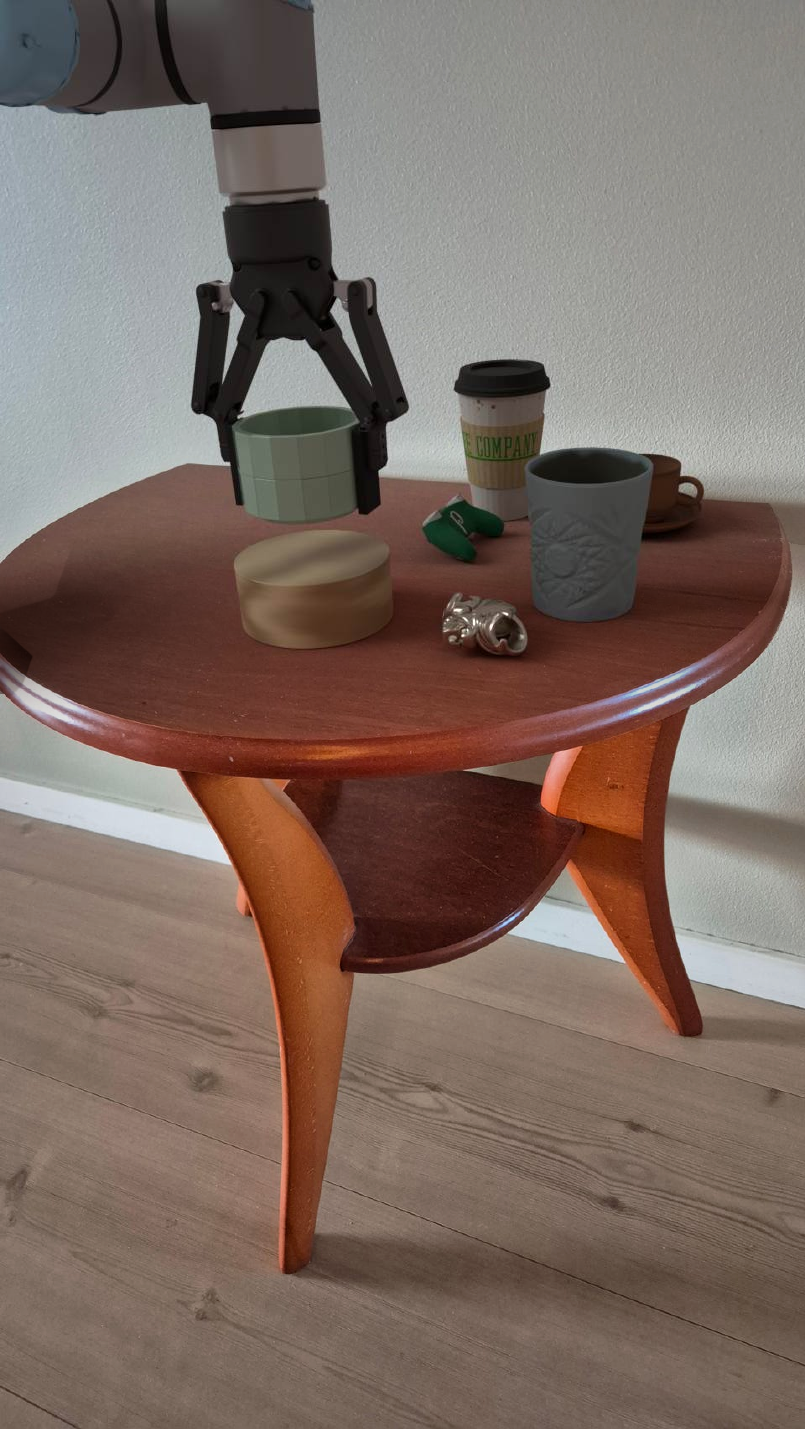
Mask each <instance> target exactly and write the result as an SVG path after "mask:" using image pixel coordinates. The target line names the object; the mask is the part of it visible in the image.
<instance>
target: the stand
mask: <svg viewBox="0 0 805 1429" xmlns="http://www.w3.org/2000/svg"><path fill="white" fill-rule="evenodd" d="M233 569H234V576H235V582H236V589H237V597H238V602H239V609H240V616H241V623H242V628H243V630H244V632H245V633H246V635H248V636H249V637H250V638H252V639H253V640H255V641H257V642H259V643H262V644H265V645H267V646H268V645H269V646H273V647H277V648H283V649H293V650H294V649H297V650H298V649H299V650H310V649H312V650H313V649H324V648H331V647H337V646H342V645H346V644H347V645H348V644H351V643H354V642H357V641H360V640H363V639H366V638H368V637H370V636H372V635H374V634H376V633H378V632H380V631H381V630H382V629H383V628H385V627H386V626H387V625H388V624H389V623H390V621H391V620H392V618H393V616H394V602H393V587H392V586H393V585H392V570H391V554H390V548H389V546H388V545H387V544H386V543H385V541H383V540H382V539H380V538H378V537H376V536H373V535H370V534H367V533H364V532H358V531H351V530H343V529H342V530H341V529H315V530H303V531H295V532H290V533H289V532H288V533H286V534H280V535H277V536H273V537H269V538H266V539H263V540H261V541H258V542H255V543H253V544H251V545H248V547H245V548H244V549H243V550H242V551H241V552H239V553H238V554H237V555H236V557H235V559H234V561H233Z"/></svg>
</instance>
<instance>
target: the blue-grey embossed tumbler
mask: <svg viewBox="0 0 805 1429" xmlns="http://www.w3.org/2000/svg"><path fill="white" fill-rule="evenodd" d="M640 454H641V453H637V452H634V451H630V450H625V449H620V448H612V447H595V446H594V447H585V446H584V447H570V448H569V447H568V448H562V449H556V450H555V449H554V450H551V451H547V452H543V453H540V455H538V456H537V457H535V458H534V459H532V460H530V461H529V462H528V463H527V464H526V466H525V476H526V489H527V498H528V504H529V515H528V521H529V525H530V527H531V528H530V536H529V537H530V538H529V540H530V541H529V544H530V560H531V569H530V576H531V577H530V579H531V595H532V602H533V605H534V607H535V608H536V610H538V611H539V612H541V613H542V614H544V615H546V616H548V617H551V618H554V619H558V620H562V621H568V622H577V623H578V622H579V623H592V622H601V621H608V620H612V619H615V618H619V617H620V616H623V615H625V614H627V612H629V611H630V610H632V608H633V604H634V601H635V594H636V588H637V581H638V573H639V566H638V563H639V561H638V560H639V555H640V552H641V549H642V537H643V533H642V528H643V525H644V522H645V518H646V512H647V507H648V499H649V492H650V486H651V480H652V474H653V463H652V462H651V460H650V459H648V458H647V457H645V456H643V455H640Z"/></svg>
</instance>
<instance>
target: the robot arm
mask: <svg viewBox="0 0 805 1429" xmlns="http://www.w3.org/2000/svg"><path fill="white" fill-rule="evenodd" d="M314 14H315V5H314V3H313V2H312V0H0V106H3V107H9V108H25V107H32V106H36V107H37V106H39V107H40V106H41V107H45V108H46V109H47V110H49V111H51V112H53V113H57V114H61V115H65V114H66V115H67V114H77V115H83V116H84V115H85V116H87V115H94V116H102V115H105V114H107V113H109V112H110V113H111V112H121V111H122V112H123V111H135V110H143V109H144V110H145V109H153V108H163V107H172V106H181V105H187V106H195V105H201V104H206V105H207V108H208V112H209V123H210V130H211V137H212V145H213V146H212V147H213V152H214V161H215V169H216V170H215V171H216V176H217V177H216V178H217V185H218V186H217V187H218V193H219V194H220V195H221V196H222V197H225V198H226V197H228V201H229V205H225V206H224V210H223V211H222V212H221V213H222V221H223V229H224V237H225V244H226V253H227V257H228V259H229V260H230V261H229V262H230V263H231V267H232V274H231V279H230V280H229V281H225V282H224V281H222V280H221V279H216V280H212V281H207V282H203V283H200V284H197V286H196V288H195V295H196V302H197V306H198V313H199V325H198V334H197V344H196V352H195V353H196V354H195V363H194V374H193V382H192V391H191V392H192V393H191V400H190V408H191V411H192V412H193V413H194V414H195V415H197V416H200V415H204V416H206V417H208V418H210V419H212V421H214V423H215V425H216V431H217V432H216V433H217V439H218V445H219V452H220V457H221V458H222V461H223V463H229V466H230V473H231V474H230V475H231V480H232V487H233V492H234V493H233V494H234V501H235V506H241V507H244V506H243V502H242V495H241V488H240V481H239V474H238V466H237V460H236V453H235V446H234V439H233V432H232V425H234V424H235V423H236V422H237V421H238V420H240V419H242V418H245V417H246V416H245V417H239V416H240V415H243V414H244V412H245V410H242V408H243V406H244V403H245V401H246V398H247V395H248V393H249V392H250V388H251V385H252V383H253V381H254V378H255V375H256V373H257V370H258V367H259V365H260V363H261V360H262V357H263V355H264V353H265V351H266V347H267V346H268V344H269V343H270V342H271V341H276V340H279V339H287V340H290V341H295V342H296V341H304V340H305V342H306V343H307V345H308V347H309V348H310V349H311V350H312V351H314V352H316V354H317V355H318V356H319V358H320V361H321V362H322V363H323V365H324V366H325V368H326V371H328V373H329V375H330V376H331V378H332V380H333V381H334V383H335V385H336V386H337V388H338V389H339V391H340V392H341V394H342V396H343V398H344V399H345V401H346V402H347V404H348V406H349V407H350V409H352V411H353V412H354V414H355V415H356V417H357V419H358V420H359V422H360V424H361V426H359V427H357V428H356V429H354V430H352V440H353V452H354V464H355V476H356V488H357V500H358V509H357V511H358V512H357V513H358V515H361V516H369V514H371V513H372V512H374V511H375V510H376V509H377V508H378V507H380V506H381V505H382V501H381V500H382V499H381V487H380V486H381V485H380V471H381V470H382V469H383V468H385V467H386V466H387V463H388V461H389V453H388V438H387V437H388V436H387V426H388V423H391V422H394V421H396V420H397V419H399V418H400V417H402V416H404V415H405V414H407V413H408V411H409V408H410V404H409V401H408V398H407V395H406V392H405V389H404V387H403V383H402V380H401V378H400V375H399V371H398V368H397V366H396V363H395V360H394V356H393V353H392V351H391V348H390V345H389V342H388V339H387V336H386V333H385V330H384V327H383V324H382V322H381V318H380V315H379V312H378V296H377V295H378V293H377V283H376V281H375V279H374V278H373V277H370V276H365V277H362V278H359V279H356V280H355V279H339V277H338V275H337V274H336V272H335V269H334V266H333V261H332V260H333V259H332V258H333V238H332V229H331V217H330V215H331V214H330V204H328V203H326V202H327V201H326V199H323V198H322V199H321V198H320V191H324V189H325V188H326V187H327V185H328V184H327V172H326V163H325V151H324V150H325V149H324V139H323V129H322V128H323V126H322V118H321V111H320V97H319V96H320V95H319V83H318V67H317V55H316V38H315V21H314ZM337 299H339V300H340V302H341V308H342V309H343V310H344V311H345V312H346V313H347V314H348V319H349V324H350V327H351V330H352V333H353V336H354V339H355V341H356V344H357V347H358V350H359V353H360V355H361V356H360V357H361V359H362V361H363V364H364V367H365V370H366V373H367V375H368V376H367V375H366V373H365V372H364V371H363V368H362V367H361V366H360V364H359V362H358V361H357V359H356V357H355V356H354V354H353V353H352V350H351V349H350V347H349V346H348V344H347V343H346V341H345V339H344V338H343V330H342V329H341V328H342V327H340V325H339V323H338V322H337V320H336V319H335V317H334V315H333V313H332V312H331V311H332V309H333V306H334V305H335V303H336V301H337ZM234 304H236V306H237V307H238V308H239V309H240V311H241V313H242V314H243V316H244V317H243V319H242V321H241V324H240V327H239V330H238V332H237V336H236V339H235V340H236V342H237V344H236V346H235V349H234V351H233V355H232V357H231V360H230V363H229V365H228V368H227V370H226V372H225V376H224V371H225V364H226V355H227V348H228V340H229V332H230V324H231V323H230V322H231V311H232V309H233V306H234ZM368 378H369V379H368Z"/></svg>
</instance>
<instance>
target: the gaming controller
mask: <svg viewBox="0 0 805 1429" xmlns="http://www.w3.org/2000/svg"><path fill="white" fill-rule="evenodd" d="M421 531H422V533H423V534H424V536H425V538H426V541H427V542H428V543H429V544H432V546H434V547H435V548H436V549H438V550H440V551H441V552H443V553H445V554H446V555H448V556H450V557H452V558H455V559H458V560H461V561H464V562H467V563H471V562H472V561H474V560H475V559H476V558H477V556H478V551H477V548H476V547H475V546H474V545H473V543H472V542H471V541H470V540H469V539H468V538H469V537H470V536H471V535H472V534H479V535H484V536H490V537H500V536H502V535H503V533H504V531H505V523H504V521H502V520H501V519H500V518H499V517H498V516H496V515H495V514H492V513H490V512H488V511H486V510H483V509H480V508H477V507H474V506H473V504H470V503H469V502H468V501H467V500H466V499H465V498H463V496H462V493H461V492H459V493H458V494H457V495H455V496H454V497H452V498H451V499H450V500H449V501H448V502H447V503H446V504H445V507H443V508H441V509H436V510H435V511H433V512H432V513H431V514H430V515H429V516H427V518H425V519H424V521H423V523H422V527H421Z"/></svg>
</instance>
